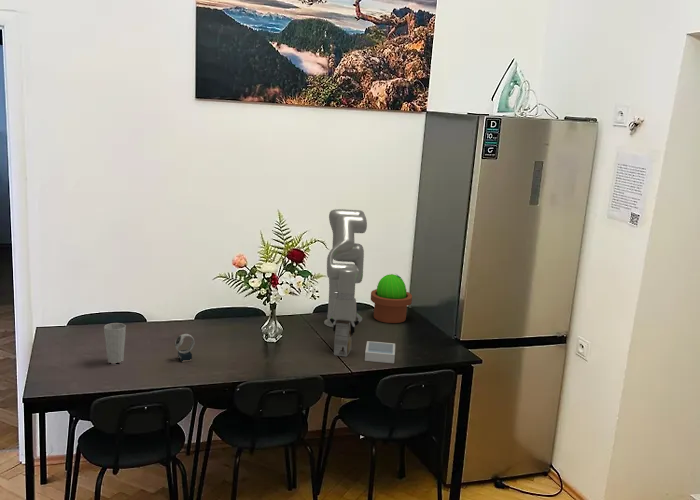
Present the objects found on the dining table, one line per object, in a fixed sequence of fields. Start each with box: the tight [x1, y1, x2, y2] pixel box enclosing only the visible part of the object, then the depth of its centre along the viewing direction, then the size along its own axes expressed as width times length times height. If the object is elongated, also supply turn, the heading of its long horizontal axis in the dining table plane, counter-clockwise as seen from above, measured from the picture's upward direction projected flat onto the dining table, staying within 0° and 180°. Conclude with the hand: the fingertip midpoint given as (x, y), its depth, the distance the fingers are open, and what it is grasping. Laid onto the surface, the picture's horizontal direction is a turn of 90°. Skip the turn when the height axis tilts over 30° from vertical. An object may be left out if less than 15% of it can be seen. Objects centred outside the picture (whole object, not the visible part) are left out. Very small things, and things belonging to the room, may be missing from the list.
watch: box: [174, 333, 196, 362], centre depth 260 cm, size 6×8×11 cm
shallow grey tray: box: [364, 340, 396, 364], centre depth 278 cm, size 14×13×4 cm
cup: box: [103, 322, 127, 363], centre depth 253 cm, size 8×8×16 cm
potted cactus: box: [370, 273, 413, 324], centre depth 329 cm, size 22×22×25 cm
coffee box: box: [333, 320, 353, 358], centre depth 278 cm, size 9×6×16 cm
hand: (343, 333), depth 278 cm, fingers closed on coffee box, 6 cm apart
